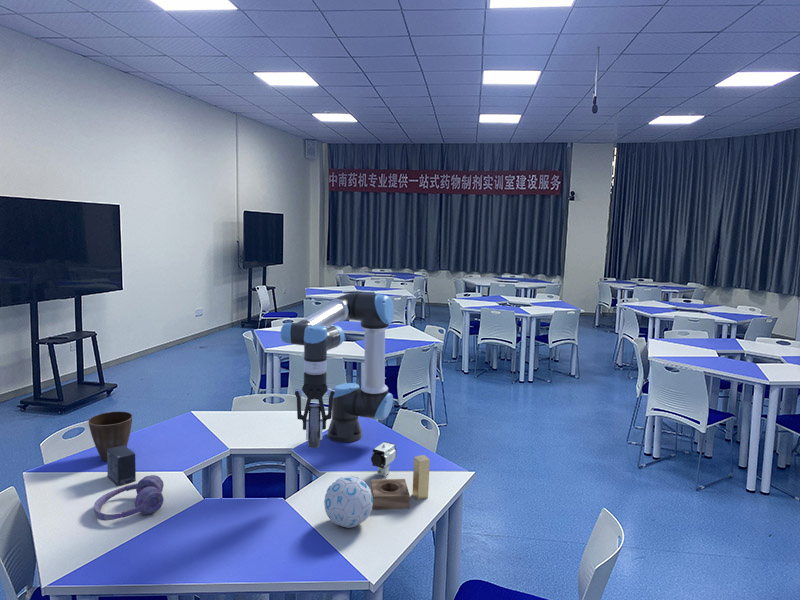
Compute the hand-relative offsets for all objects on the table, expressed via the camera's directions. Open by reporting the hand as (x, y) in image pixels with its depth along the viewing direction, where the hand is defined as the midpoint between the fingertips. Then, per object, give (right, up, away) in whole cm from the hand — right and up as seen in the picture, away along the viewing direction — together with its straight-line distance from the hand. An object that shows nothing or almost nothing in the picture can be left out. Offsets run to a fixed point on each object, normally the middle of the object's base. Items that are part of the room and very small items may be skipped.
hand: (314, 438), depth 186 cm
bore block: (+26, -21, +1) cm, 33 cm away
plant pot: (-82, -14, +25) cm, 87 cm away
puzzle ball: (+13, -23, -15) cm, 31 cm away
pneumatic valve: (+23, -19, +20) cm, 36 cm away
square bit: (+36, -21, +4) cm, 42 cm away
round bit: (0, -3, 0) cm, 3 cm away
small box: (-70, -17, +9) cm, 73 cm away
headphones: (-58, -20, -11) cm, 62 cm away
